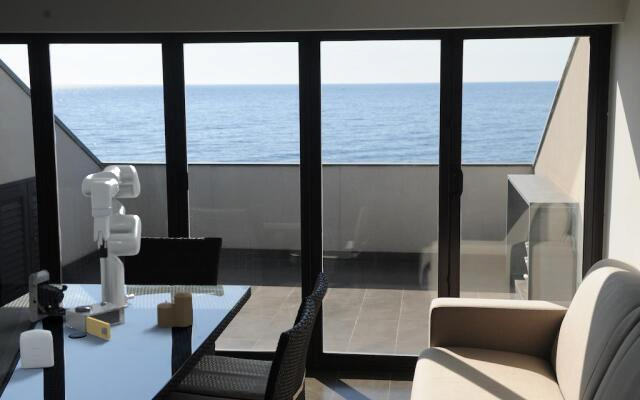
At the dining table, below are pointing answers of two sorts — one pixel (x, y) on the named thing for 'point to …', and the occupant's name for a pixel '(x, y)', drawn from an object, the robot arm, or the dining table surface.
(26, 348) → the photo printer
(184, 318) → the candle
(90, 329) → the ochre side door
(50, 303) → the vintage camera
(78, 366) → the dining table surface
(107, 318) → the aluminium camera mock-up
